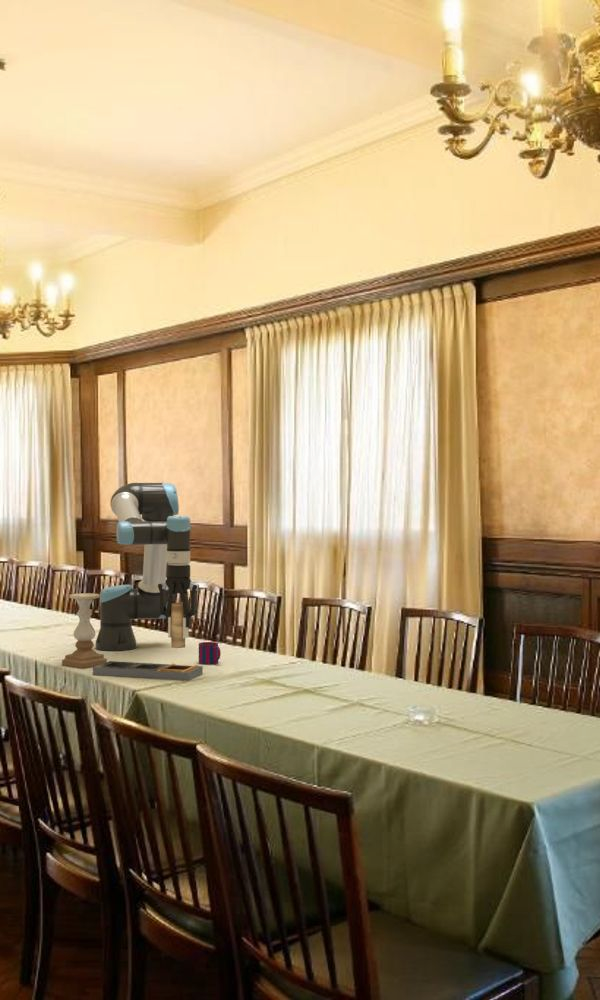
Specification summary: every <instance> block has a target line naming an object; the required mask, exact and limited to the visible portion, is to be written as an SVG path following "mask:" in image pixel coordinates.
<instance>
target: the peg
mask: <svg viewBox="0 0 600 1000" xmlns="http://www.w3.org/2000/svg"><path fill="white" fill-rule="evenodd" d="M184 616H185V612H184V607H183V602H174V603H171V638H170V640H171V641H170V642H171V647H170V648H171V649H184V648H186V638H183V618H184Z"/></svg>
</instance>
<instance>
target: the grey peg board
mask: <svg viewBox="0 0 600 1000" xmlns="http://www.w3.org/2000/svg"><path fill="white" fill-rule="evenodd" d="M203 668H204V667H203V665H202V666H201V665H199V664H195V665H187V664H186V665H185V664H184V665H183V664H176V663H171V664H170V663H169V664H165V663H153V662H152V663H151V662H135V661H134V662H133V661H115V660H109V661H107V662H106V663H103V664H100V665H98V666H95V667H92V675H93V676H101V677H102V676H107V677H121V678H122V677H123V678H137V679H152V678H153V680H171V681H184V680H187V682H188V681H191V680H194V679H196V678H197V677H200V676H201V674H202V675H203V673H204V672H203V670H204V669H203Z"/></svg>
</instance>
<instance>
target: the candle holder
mask: <svg viewBox="0 0 600 1000" xmlns="http://www.w3.org/2000/svg"><path fill="white" fill-rule="evenodd" d="M68 597H69V598H70V599H73V600H76V603H77V604H78V611H77V612H76V615H77V617H78V619H79V622H78V623H77V626H76V627H75V628H74V631H73V637H74V638H75V640H77V641H76V642H75V646H74V647H76V649H75V650H74V651H73V652H72V653H70V654H66V655H65V656H64V658H63V659H61V665H62V666H65V667H70V668H76V669H89V668H93V667H95V666H98V665H100V664H103V663H106V662H108V660H107V658H105V656H104V654H101V653H98V652H96V650H94V649H93V648H94V646H95V644H94V642H93V641H92V640H93V639H94V638H95V636H96V630H95V629H94V627H93V625H92V623H91V621H90V619H91V617H92V615H93V612H92V610H91V605H92V603H93V601H94V599H95V600H96V599H99V598H101V594H100V593H90V592H87V593H86V592H83V593H80V592H79V593H72V594H71V593H70V594H69V596H68Z"/></svg>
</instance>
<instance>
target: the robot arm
mask: <svg viewBox="0 0 600 1000" xmlns="http://www.w3.org/2000/svg"><path fill="white" fill-rule="evenodd" d="M179 506H180V505H179V498H178V492H177V488H176V486H175V485H174V484H173V483H169V482H168V483H167V482H131V483H127V484H124V485H122V486H120V487H119V488H117V489H116V490H115V491H114V493H113V494H112V496H111V498H110V508H111V511H112V513H113V514H114V515H115V516H116V518H117V520H118V523H117V525H116V542H117V544H119V545H125V546H131V545H132V546H136V545H137V546H139V545H143V546H144V547H143V548H144V549H143V567H142V570H143V571H142V579H141V580H140V581H139V582H138V585H137V586H138V587H137V588H133V586H132V584H121V585H120V584H119V585H111V586H108V587H105V588H103V589H102V590H101V591H100V597H99V598H100V599H99V603H100V618H99V620H100V621H99V622H100V623H99V624H100V627H99V631H98V634H97V636H96V639H95V649H96V650H100V651H114V652H117V651H119V652H120V651H129V650H133V649H136V648H137V638H136V636H135V634H134V633H135V632H134V631H133V630H134V629H133V625H132V624H133V620H154V619H155V620H158V619H165V626H166V627H167V632H168V633H167V635H168V637H167V638H168V639H169V638H170V639H171V603H175V599H176V596H177V595H178V594H179V595H180V597H181V603H183V607H184V612H185V616H184V618H183V638H185V639H188V638H189V628H191V627H192V617H194V616H196V615H198V591H199V588H200V585H199V584H197V583H194V582H192V579H191V565H190V563H191V528H192V526H191V518H190V517H189V516H188V515H179V510H180V509H179ZM189 589H190V600H189V592H188V590H189Z"/></svg>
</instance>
